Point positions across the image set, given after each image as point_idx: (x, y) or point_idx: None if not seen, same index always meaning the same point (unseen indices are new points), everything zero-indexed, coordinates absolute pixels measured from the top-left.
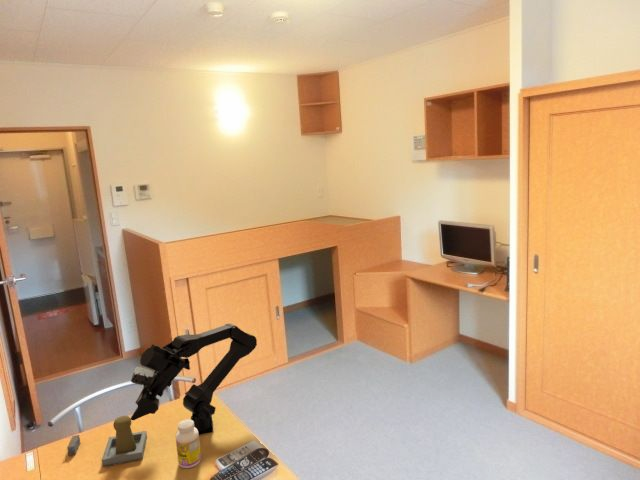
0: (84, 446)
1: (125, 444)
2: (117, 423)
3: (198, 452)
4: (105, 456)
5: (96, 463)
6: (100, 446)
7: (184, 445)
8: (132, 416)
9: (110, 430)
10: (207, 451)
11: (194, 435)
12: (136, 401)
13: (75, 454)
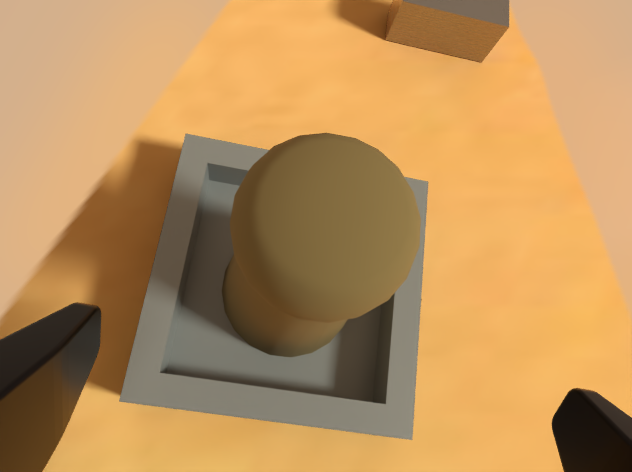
0: (444, 78)
1: (230, 277)
2: (267, 161)
3: None
4: (212, 156)
5: (249, 129)
6: (410, 151)
7: None
8: (16, 337)
9: (554, 204)
10: None
11: None
12: (590, 409)
13: (385, 39)
